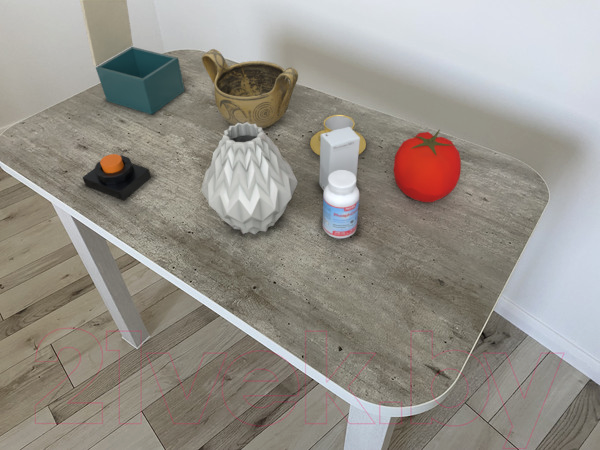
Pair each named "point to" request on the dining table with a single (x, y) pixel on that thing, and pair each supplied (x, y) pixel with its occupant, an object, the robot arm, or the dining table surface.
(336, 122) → the cup
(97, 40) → the beige flat rectangular panel
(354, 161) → the cosmetic box
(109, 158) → the flush button
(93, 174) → the push button housing
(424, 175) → the tomato
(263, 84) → the ceramic bowl
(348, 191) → the pill bottle
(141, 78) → the teal hollow open box
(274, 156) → the vase
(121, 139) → the dining table surface
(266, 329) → the dining table surface
